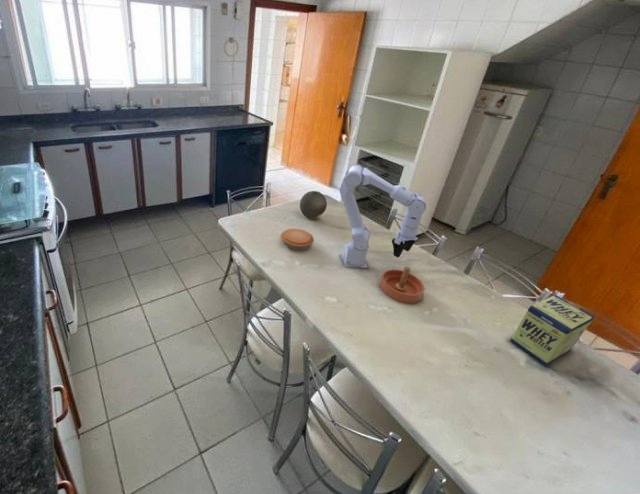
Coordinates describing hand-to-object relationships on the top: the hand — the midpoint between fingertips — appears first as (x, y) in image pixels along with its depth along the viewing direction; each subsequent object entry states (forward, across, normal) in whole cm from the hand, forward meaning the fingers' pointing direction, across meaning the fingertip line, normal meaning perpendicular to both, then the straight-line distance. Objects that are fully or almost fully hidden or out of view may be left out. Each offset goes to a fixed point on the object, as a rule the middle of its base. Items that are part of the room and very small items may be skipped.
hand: (401, 253), depth 135 cm
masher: (+10, -9, -7) cm, 15 cm away
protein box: (+11, +5, -48) cm, 50 cm away
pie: (+11, -19, +40) cm, 45 cm away
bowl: (+10, -9, -7) cm, 15 cm away
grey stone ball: (+11, +7, +54) cm, 55 cm away
